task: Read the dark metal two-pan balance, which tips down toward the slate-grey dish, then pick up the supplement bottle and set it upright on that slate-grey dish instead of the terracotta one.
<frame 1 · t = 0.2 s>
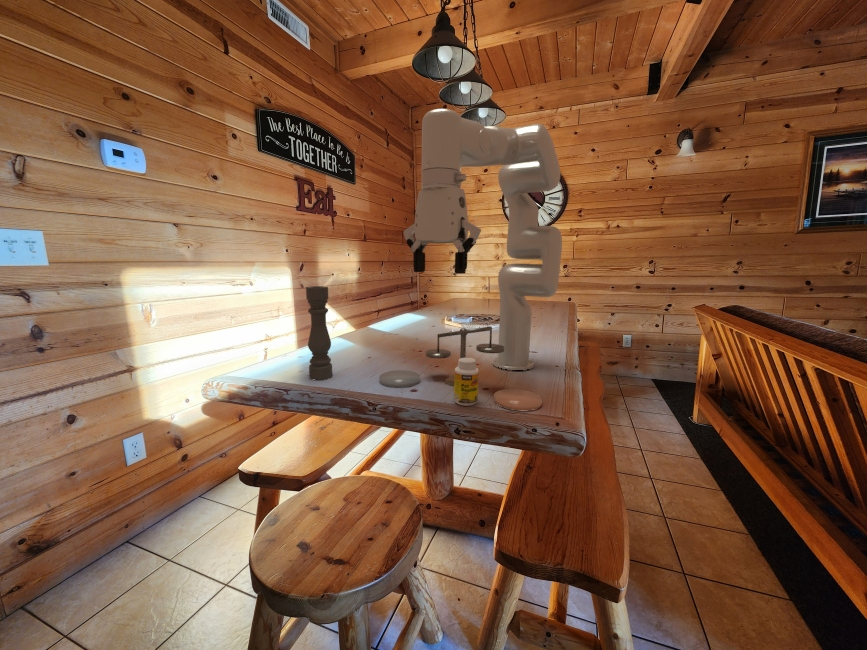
hand: (439, 272, 74), 30 cm above the table, tool pointing down, fingers open, 9 cm apart
terracotta dish: (517, 401, 86), on the table
candle holder: (321, 377, 103), on the table
balance: (462, 383, 99), on the table
supplement bottle: (465, 402, 86), on the table
slate dish: (399, 380, 100), on the table
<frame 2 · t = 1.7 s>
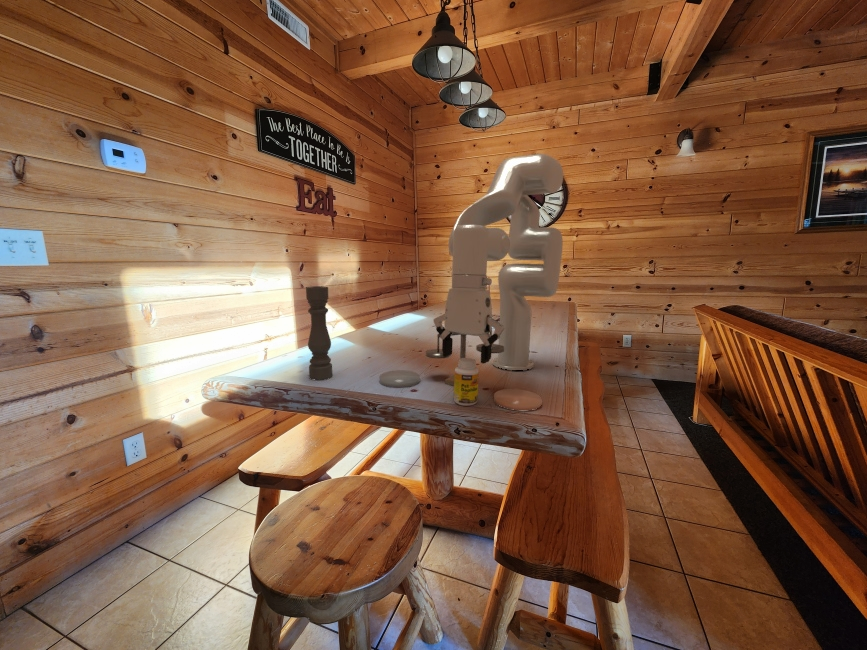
hand: (465, 358, 83), 11 cm above the table, tool pointing down, fingers open, 9 cm apart
nothing on the table moved.
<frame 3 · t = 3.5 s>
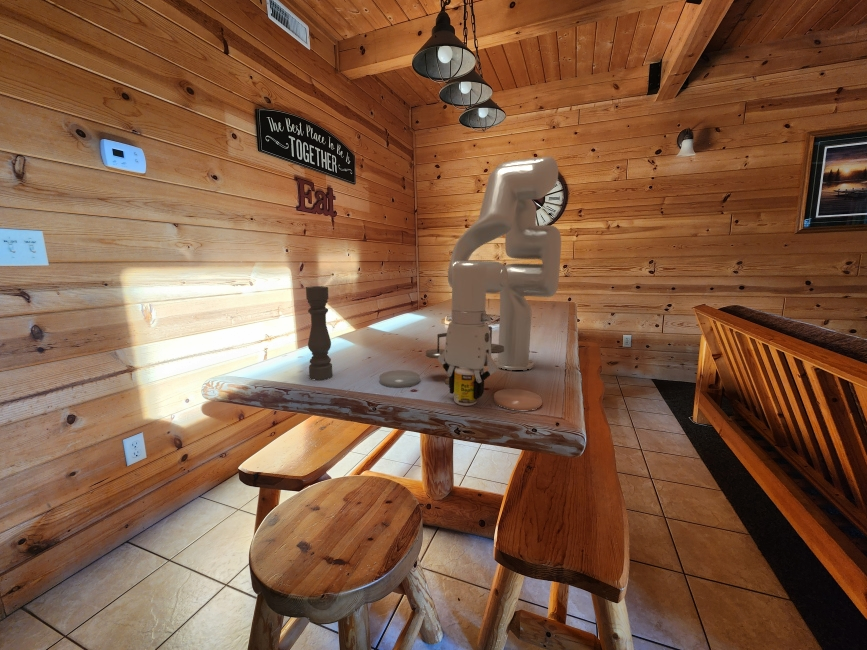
hand: (465, 393, 86), 2 cm above the table, tool pointing down, fingers closed on supplement bottle, 5 cm apart
supplement bottle: (465, 402, 86), on the table, touching gripper
everything else where it was.
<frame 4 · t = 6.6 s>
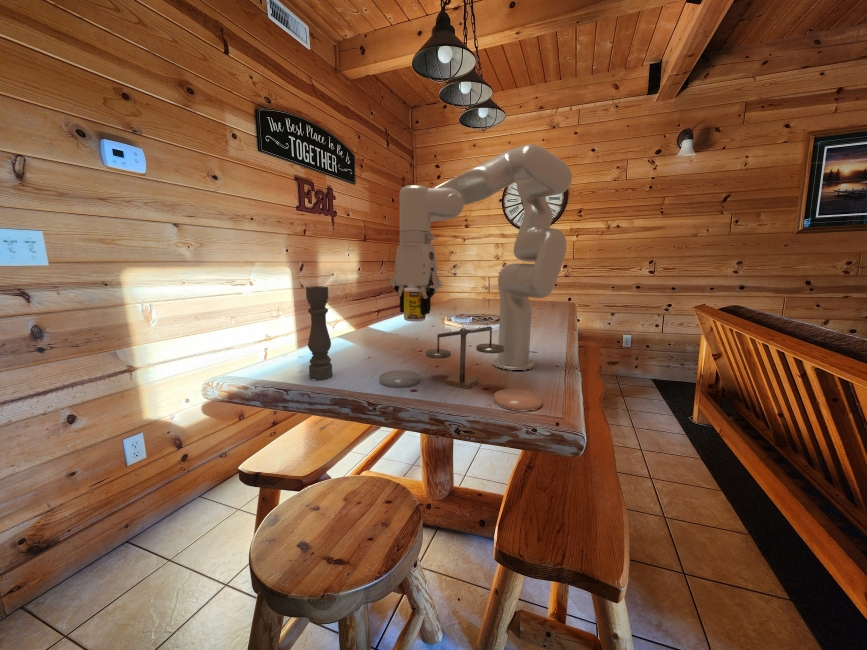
hand: (414, 312, 93), 19 cm above the table, tool pointing down, fingers closed on supplement bottle, 5 cm apart
supplement bottle: (414, 321, 93), point 17 cm above the table, touching gripper
everything else where it was.
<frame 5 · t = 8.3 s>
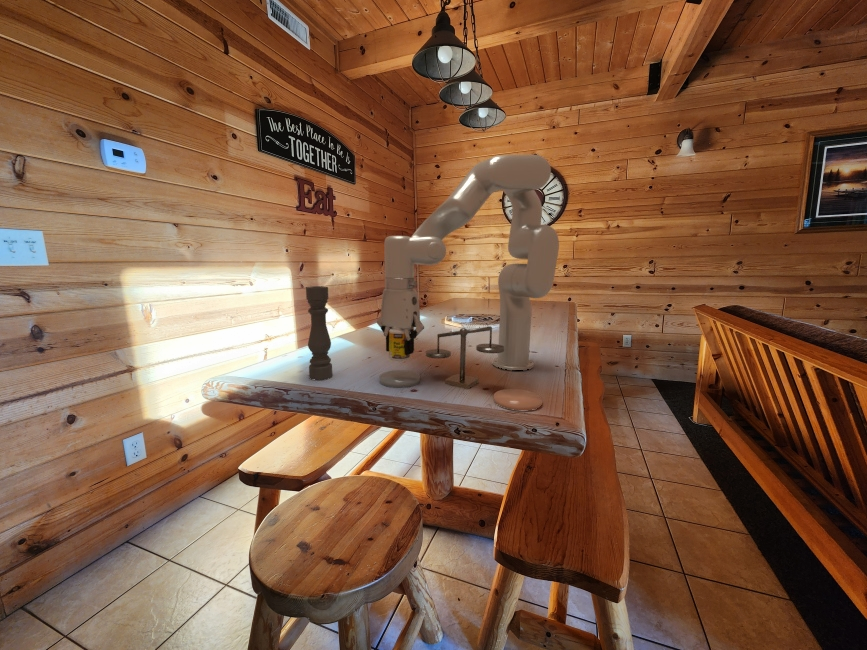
hand: (399, 351, 99), 8 cm above the table, tool pointing down, fingers closed on supplement bottle, 5 cm apart
supplement bottle: (399, 359, 99), point 6 cm above the table, touching gripper
everything else where it was.
when the fingers open (5 cm above the table, at t = 9.8 s): supplement bottle drops 1 cm, resting on slate dish.
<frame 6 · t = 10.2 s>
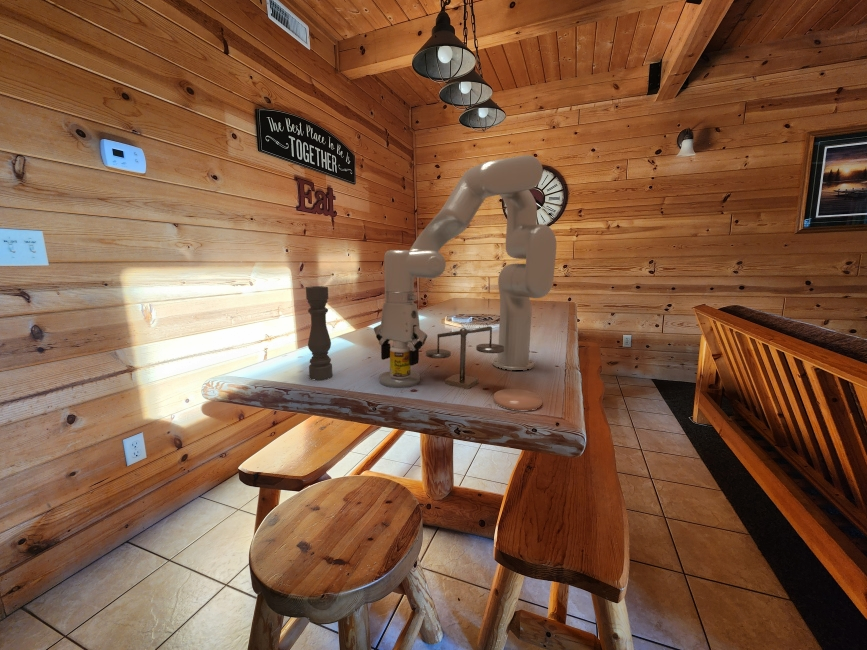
hand: (399, 361, 99), 5 cm above the table, tool pointing down, fingers open, 9 cm apart
supplement bottle: (400, 377, 100), point 1 cm above the table, touching slate dish
everything else where it was.
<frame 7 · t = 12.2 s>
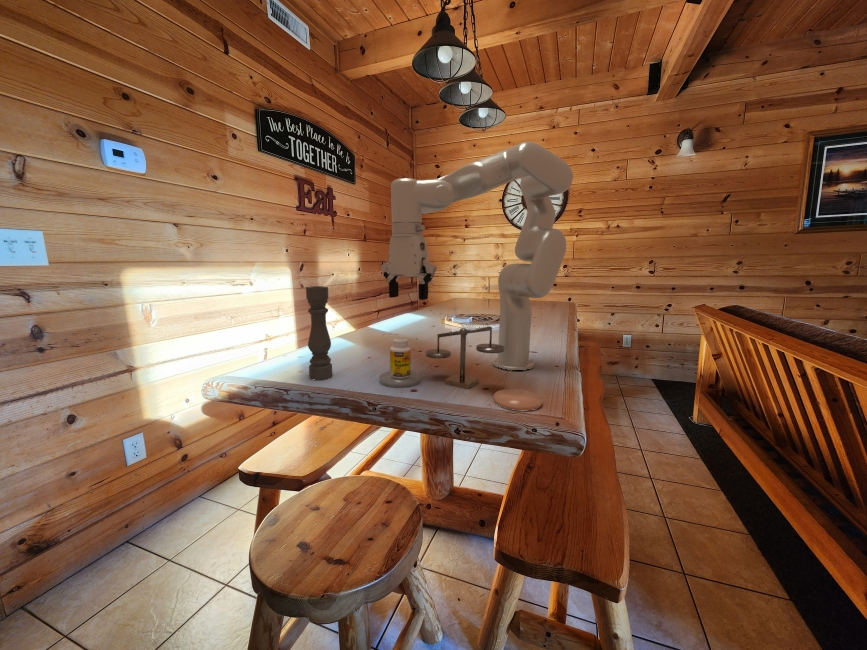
hand: (408, 298, 96), 23 cm above the table, tool pointing down, fingers open, 9 cm apart
nothing on the table moved.
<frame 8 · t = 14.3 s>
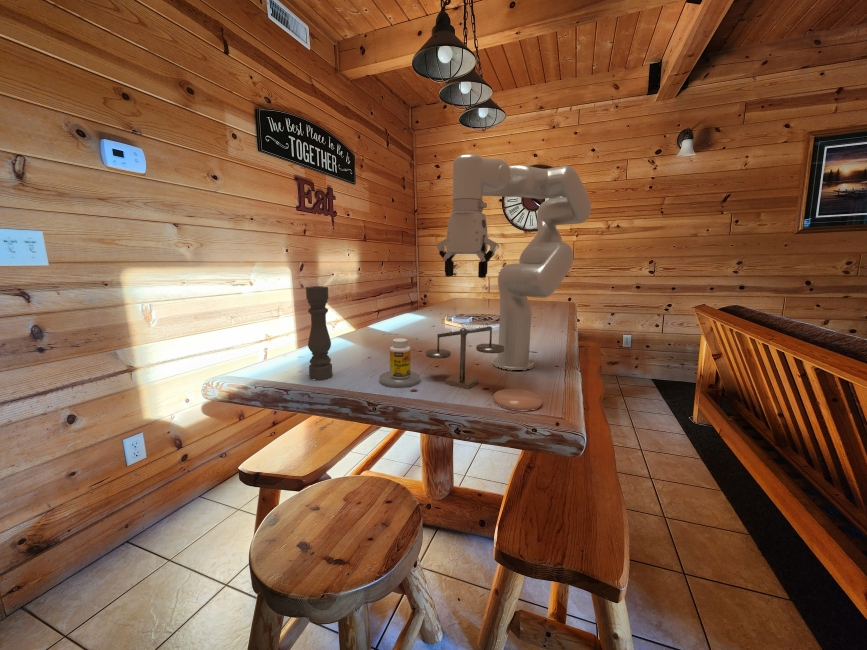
hand: (465, 276, 96), 28 cm above the table, tool pointing down, fingers open, 9 cm apart
nothing on the table moved.
at the end: supplement bottle 0.2 cm off-centre on the slate dish, point 1.0 cm above the slate dish's base; supplement bottle tilted 0°; the gripper is holding nothing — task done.
